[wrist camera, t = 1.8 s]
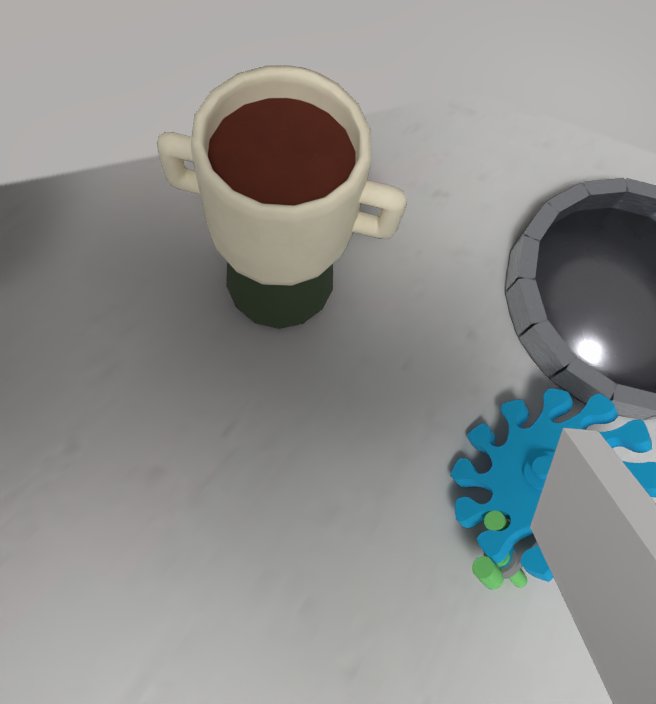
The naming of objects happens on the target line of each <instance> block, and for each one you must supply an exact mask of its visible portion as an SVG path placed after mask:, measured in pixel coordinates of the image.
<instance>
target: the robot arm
mask: <svg viewBox="0 0 656 704" xmlns="http://www.w3.org/2000/svg"><path fill="white" fill-rule="evenodd" d="M530 528H531V530H532V532H533V534H534V536H535V538H536V541H537V543H538V545H539V547H540V549H541V551H542V553H543V556H544V558H545V560H546V562H547V564H548V566H549V568H550V570H551V573H552V575H553V577H554V579H555V581H556V583H557V585H558V587H559V590H560V592H561V594H562V596H563V598H564V600H565V602H566V605H567V607H568V609H569V611H570V613H571V615H572V617H573V619H574V622H575V624H576V626H577V628H578V630H579V632H580V634H581V637H582V639H583V641H584V643H585V645H586V647H587V649H588V651H589V654H590V656H591V658H592V660H593V662H594V664H595V666H596V668H597V671H598V673H599V675H600V677H601V679H602V681H603V683H604V686H605V688H606V690H607V692H608V694H609V696H610V698H611V700H612V703H613V704H656V503H655V502H654V501H653V499H652V498H651V497H650V496H649V494H648V493H647V492H646V491H645V489H644V488H643V487H642V486H641V484H640V483H639V482H638V481H637V479H636V478H635V477H634V476H633V474H632V473H631V472H630V471H629V469H628V468H627V467H626V466H625V464H624V463H623V462H622V460H621V459H620V458H619V457H618V455H617V454H616V453H615V452H614V450H613V449H612V448H611V447H610V445H609V444H608V443H607V442H606V440H605V439H604V438H603V437H602V435H601V434H600V433H599V432H598V431H594V430H582V429H571V428H563V430H562V433H561V436H560V439H559V442H558V445H557V448H556V451H555V454H554V457H553V460H552V463H551V466H550V469H549V472H548V475H547V478H546V481H545V484H544V487H543V490H542V493H541V496H540V499H539V502H538V505H537V508H536V511H535V514H534V517H533V520H532V523H531V526H530Z"/></svg>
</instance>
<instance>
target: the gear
mask: <svg viewBox="0 0 656 704" xmlns="http://www.w3.org/2000/svg"><path fill="white" fill-rule="evenodd" d="M543 399H544V407H543V411H542V413H541V415H540V416H539V418H538V419H537V421H536V422H535V423H534V424H533V425H532V426H531V427H529V428H526V429H522V428H521V427H522V425H523V424H524V423H525V422H526V420H527V419H528V417H529V411H528V409H527V407H526V405H525V403H524V402H523V400H513V401H509V402H506V403H503V404H502V406H501V412H502V414H503V416H504V417H505V419H506V420H507V422H508V424H509V434H508V439H507V442H506V443H505V444H504V445H502V446H500V447H494V446H495V439H496V438H495V435H494V434H493V432H492V431H491V429H490V427H489V426H488V425H487V424H485V423H483V424H480V425H478V426H477V427H475V428H474V429H473V430H472V431H471V432H470V433H468V434H467V436H468V439H469V441H470V442H471V443H472V445H473V446H474V447H475V449H477V450H479V451H482V452H484V453H486V454H487V455H489V456H490V458H491V460H492V467H491V469H490V470H489V471H488V472H487V473H484V474H479V473H478V472H477V470H476V468H475V467H474V466H473V464H472V463H471V462H470V461H469V460H468V459H465V458H460V459H459V460H458V461H457V462H456V464H455V465H454V468H453V470H452V472H451V475H450V476H451V477H452V478H453V479H454V481H455V482H456V483H457V484H458V485H459V486H461V487H471V486H476V487H481V488H484V489H487V490H488V491H490V492H492V493H493V496H492V499H491V500H490V501H489V502H488V503H486V504H478V503H476V502H475V501H474V500H472V499H471V498H469V497H461V498H458V499H457V500H456V503H455V514H456V520H457V521H458V522H459V523H460V524H461V525H462V526H463V527H465V528H471V527H474V526H476V525H477V524H478V523H480V522H482V521H484V524H485V526H486V528H487V529H488V530H487V531H484V532H482V533H481V534H480V535H479V536H478V538H477V541H478V544H479V545H480V547H481V549H482V550H483V551H484V556H482V557H479V558H477V559H476V560H475V561H474V563H473V566H472V570H473V573H474V574H475V576H476V577H477V578H478V579H479V580H480V581H481V582H482V583H483V584H484V585H485V586H486V587H487V588H489V589H496V588H499V587H500V586H501V585H502V583H503V580H504V578H509V579H510V580H511V581H512V582H513V583H514V585H515V586H517V587H524V586H525V585H526V583H527V578H526V576H525V575H524V573H523V572H522V571H521V570H520V568H521V567H522V566H523V567H524V569H525V570H526V571H527V572H528V573H529V574H531V575H532V576H534V577H536V578H539V579H541V580H545V581H548V582H549V581H550V580H552V578H553V575H552V573H551V570H550V568H549V566H548V564H547V562H546V560H545V558H544V556H543V553H542V551H541V549H540V547H539V545H538V543H537V541H536V538H535V536H534V534H533V532H532V530H531V528H530V526H531V523H532V520H533V517H534V514H535V511H536V508H537V505H538V502H539V499H540V496H541V493H542V490H543V487H544V484H545V481H546V478H547V475H548V472H549V469H550V466H551V463H552V460H553V457H554V454H555V451H556V448H557V445H558V442H559V439H560V436H561V433H562V430H563V428H571V429H582V430H586V429H587V427H589V426H590V425H593V424H606V423H610V422H612V421H614V420H615V419H616V418H617V417H618V413H617V410H616V408H615V405H614V404H613V402H612V401H611V400H610V399H608V398H607V397H605V396H604V395H602V394H600V393H599V394H596V395H594V396H592V397H591V398H590V399H589V400H588V402H587V404H586V406H585V407H584V409H583V410H582V411H581V412H580V413H578V414H577V415H576V416H574V417H572V418H571V419H568V420H566V421H564V422H562V423H554V420H555V419H556V418H557V417H559V416H561V415H563V414H565V413H567V412H569V411H570V410H571V408H572V406H573V401H572V399H571V397H570V394H569V393H568V392H566V391H563V390H559V389H548V390H547V391H546V392H545V393H544V396H543ZM599 433H600V434H601V435H602V437H603V438H604V439H605V440H606V442H607V443H608V444H609V445H610V447H611V448H614V447H617V446H621V447H625V448H627V449H629V450H632V451H634V452H638V453H643V452H647V451H649V450H651V449H652V442H651V438H650V436H649V433H648V430H647V427H646V425H645V423H644V421H643V420H632V421H630V422H628V423H626V424H625V425H623V426H622V427H620V428H618V429H615V430H612V431H607V432H599ZM622 462H623V463H624V464H625V466H626V467H627V468H628V469H629V471H630V472H631V473H632V474H633V476H634V477H635V478H636V479H637V481H638V482H639V483H640V484H641V486H642V487H643V488H644V489H645V491H646V492H647V493H648V494H649V496H650V497H656V462H645V463H629V462H624V461H622ZM506 518H508V519H511V523H509V522H508V520H507V519H506Z"/></svg>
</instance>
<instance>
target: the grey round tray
mask: <svg viewBox="0 0 656 704" xmlns="http://www.w3.org/2000/svg"><path fill="white" fill-rule="evenodd" d="M505 291H506V297H507V303H508V308H509V313H510V317H511V319H512V322H513V325H514V328H515V331H516V333H517V336H518V337H519V339H520V341H521V343H522V345H523V346H524V348H525V349H526V351H527V352H528V354H529V355H530V357H531V358H532V360H533V361H534V362H535V363H536V364H537V366H538V367H539V368H540V369H541V370H542V372H543V373H545V374H546V376H547V377H549V378H550V380H552V381H553V382H554V383H555V384H556V385H558V386H559V387H560V388H562V389H563V390H564V391H566V392H568V393H569V394H570V395H571V396H573V397H575V398H576V399H578V400H580V401H581V402H583V403H585V404H587V402H588V400H589V399H590V398H591V397H592V396H594V395H596V394H599V393H600V394H602V395H604V396H605V397H607V398H608V399H610V400H611V401H612V402H613V404H614V405H615V408H616V410H617V413H618V416H623V417H629V418H634V419H638V420H642V419H643V420H648V419H655V418H656V185H652V184H648V183H644V182H640V181H636V180H632V179H628V178H626V180H625V179H624V178H618V179H607V180H596V181H586V182H583V183H579V184H577V185H575V186H574V187H572V188H570V189H568V190H566V191H565V192H563V193H561V194H559V195H557V196H555V197H554V198H552V199H550V200H548V201H547V202H546V203H545V204H544V205H543V207H542V208H541V209H540V211H539V212H538V213H537V214H536V216H535V217H534V218H533V219H532V221H531V222H530V224H529V225H528V227H527V228H526V230H525V231H524V232H523V234H522V235H521V237H520V238H519V240H518V241H517V243H516V244H515V246H514V247H513V248H512V251H511V253H510V260H509V265H508V269H507V277H506V289H505Z"/></svg>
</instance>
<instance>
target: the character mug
mask: <svg viewBox="0 0 656 704" xmlns="http://www.w3.org/2000/svg"><path fill="white" fill-rule="evenodd" d="M157 146H158V153H159V156H160V160H161V163H162V167H163V170H164V173H165V177H166V180H167V181H168V182H169V184H170V185H171V186H173V187H175V188H178V189H180V190H184V191H188V192H192V193H197V194H200V196H201V201H202V205H203V210H204V215H205V219H206V223H207V226H208V229H209V231H210V234H211V237H212V240H213V243H214V245H215V247H216V249H217V250H218V252H219V253H220V254H221V255H222V256H223V257H224V258H225V260H226V261H227V262H228V263H227V288H228V290H229V292H230V295H231V297H232V299H233V301H234V303H235V306H236V307H237V308H238V309H239V310H240V311H241V312H243V313H244V314H245V315H246V316H247V317H249V318H250V319H251V320H252V321H253V322H255V323H258V324H262V325H266V326H270V327H274V328H284V327H289V326H293V325H298V324H303V323H304V322H306V321H307V320H308V319H310V318H311V317H312V316H314V315H315V314H316V313H318V312H319V311H320V310H322V309H323V307H324V305H325V303H326V301H327V299H328V297H329V295H330V294H331V292H332V290H333V263H334V262H335V261H336V260H337V259H338V258H339V257H341V256H342V255H343V253H344V251H345V248H346V246H347V244H348V242H349V240H350V238H351V236H352V234H353V232H355V233H359V234H363V235H367V236H371V237H375V238H379V239H389V238H390V237H391V236H392V235H393V234H394V233H395V232H396V231H397V229H398V226H399V224H400V221H401V218H402V216H403V213H404V211H405V208H406V205H407V202H406V197H405V194H404V191H402V190H400V189H398V188H396V187H392V186H388V185H384V184H380V183H376V182H372V181H368V180H367V178H368V174H369V170H370V163H371V134H370V128H369V126H368V123H367V121H366V119H365V117H364V115H363V113H362V111H361V108H360V106H359V104H358V103H357V102H356V101H355V100H354V99H353V98H352V97H351V96H350V95H349V94H348V93H347V92H346V91H345V90H344V89H343V88H342V87H341V86H340V85H339V84H338V83H336V82H334V81H332V80H331V79H329V78H327V77H325V76H323V75H322V74H320V73H317V72H314V71H312V70H309V69H306V68H302V67H295V66H264V67H260V68H256V69H252V70H249V71H245V72H241V73H238V74H236V75H235V76H233V77H232V78H230V79H228V80H227V81H226V82H224V83H223V84H221V85H219V86H218V87H216V88H215V89H213V90H212V91H211V92H210V94H209V95H208V97H207V98H206V99H205V101H204V102H203V104H202V105H201V106H200V108H199V109H198V111H197V112H196V113H195V115H194V123H193V131H192V137H190V136H186V135H182V134H178V133H174V132H164V133H163V134H161V135H160V136H158V141H157ZM183 160H187V161H191V162H193V163H194V168H195V171H193V170H189V169H187V168H186V167H185V166H184V161H183ZM361 204H365V205H369V206H373V207H378V208H381V209H382V210H381V213H380V216H376V215H372V214H367V213H363V212H359V209H360V205H361Z"/></svg>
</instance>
